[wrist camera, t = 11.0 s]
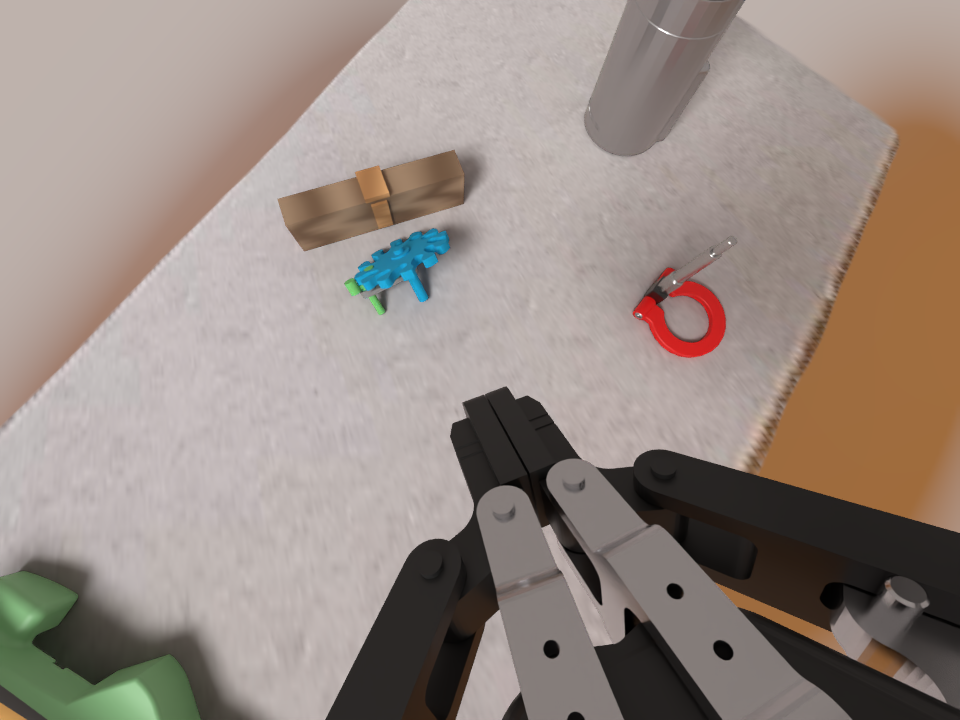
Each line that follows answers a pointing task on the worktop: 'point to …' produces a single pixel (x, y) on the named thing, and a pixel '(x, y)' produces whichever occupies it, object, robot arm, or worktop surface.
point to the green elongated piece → (62, 693)
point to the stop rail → (374, 200)
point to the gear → (399, 266)
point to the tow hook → (678, 286)
